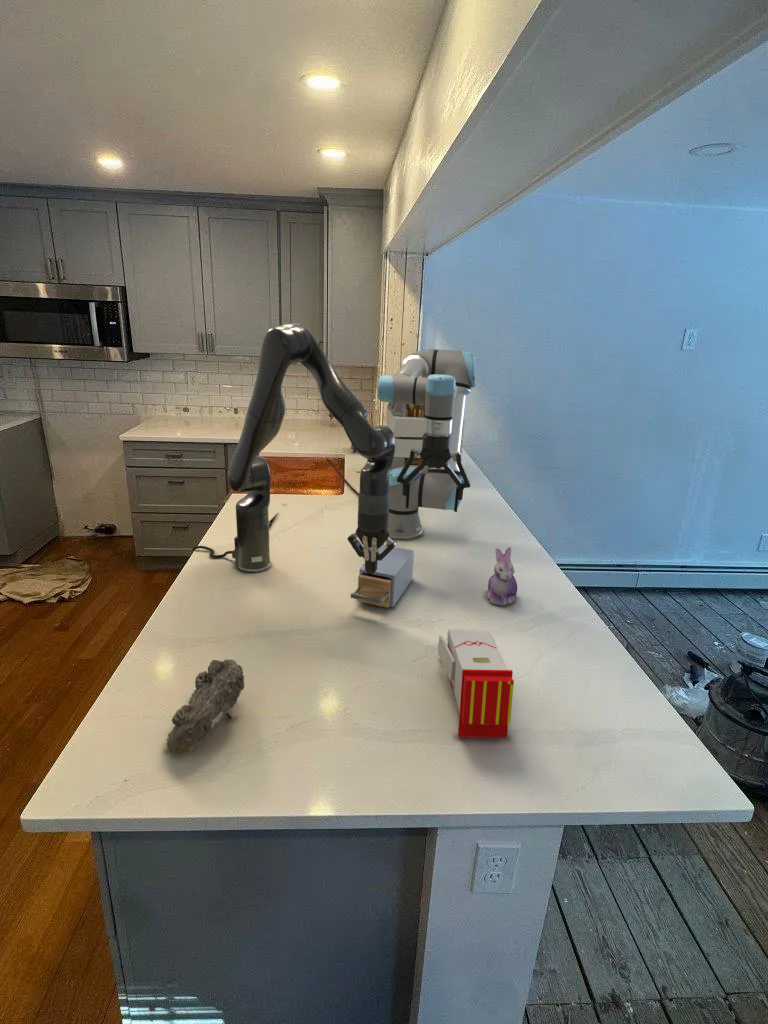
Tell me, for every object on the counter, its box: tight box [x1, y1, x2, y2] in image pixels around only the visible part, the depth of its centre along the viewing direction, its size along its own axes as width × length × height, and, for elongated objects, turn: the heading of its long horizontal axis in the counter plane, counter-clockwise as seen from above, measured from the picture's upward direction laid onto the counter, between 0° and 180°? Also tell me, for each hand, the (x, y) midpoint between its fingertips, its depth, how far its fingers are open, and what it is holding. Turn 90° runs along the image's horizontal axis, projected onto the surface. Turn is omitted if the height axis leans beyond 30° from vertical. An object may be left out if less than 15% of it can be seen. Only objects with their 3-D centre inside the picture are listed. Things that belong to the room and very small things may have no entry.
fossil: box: [166, 658, 245, 754], centre depth 106 cm, size 22×10×15 cm
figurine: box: [486, 546, 518, 606], centre depth 155 cm, size 9×10×15 cm
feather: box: [269, 512, 279, 528], centre depth 210 cm, size 2×28×2 cm
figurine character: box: [350, 442, 357, 453], centre depth 311 cm, size 7×8×15 cm
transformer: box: [385, 402, 465, 471], centre depth 268 cm, size 34×33×41 cm
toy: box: [437, 628, 515, 738], centre depth 117 cm, size 12×13×30 cm
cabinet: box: [358, 544, 415, 608], centre depth 158 cm, size 18×10×9 cm, turn 161°
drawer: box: [350, 573, 391, 609], centre depth 154 cm, size 22×9×8 cm, turn 161°
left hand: (370, 572), depth 144 cm, fingers closed
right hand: (431, 508), depth 159 cm, fingers open, 13 cm apart
